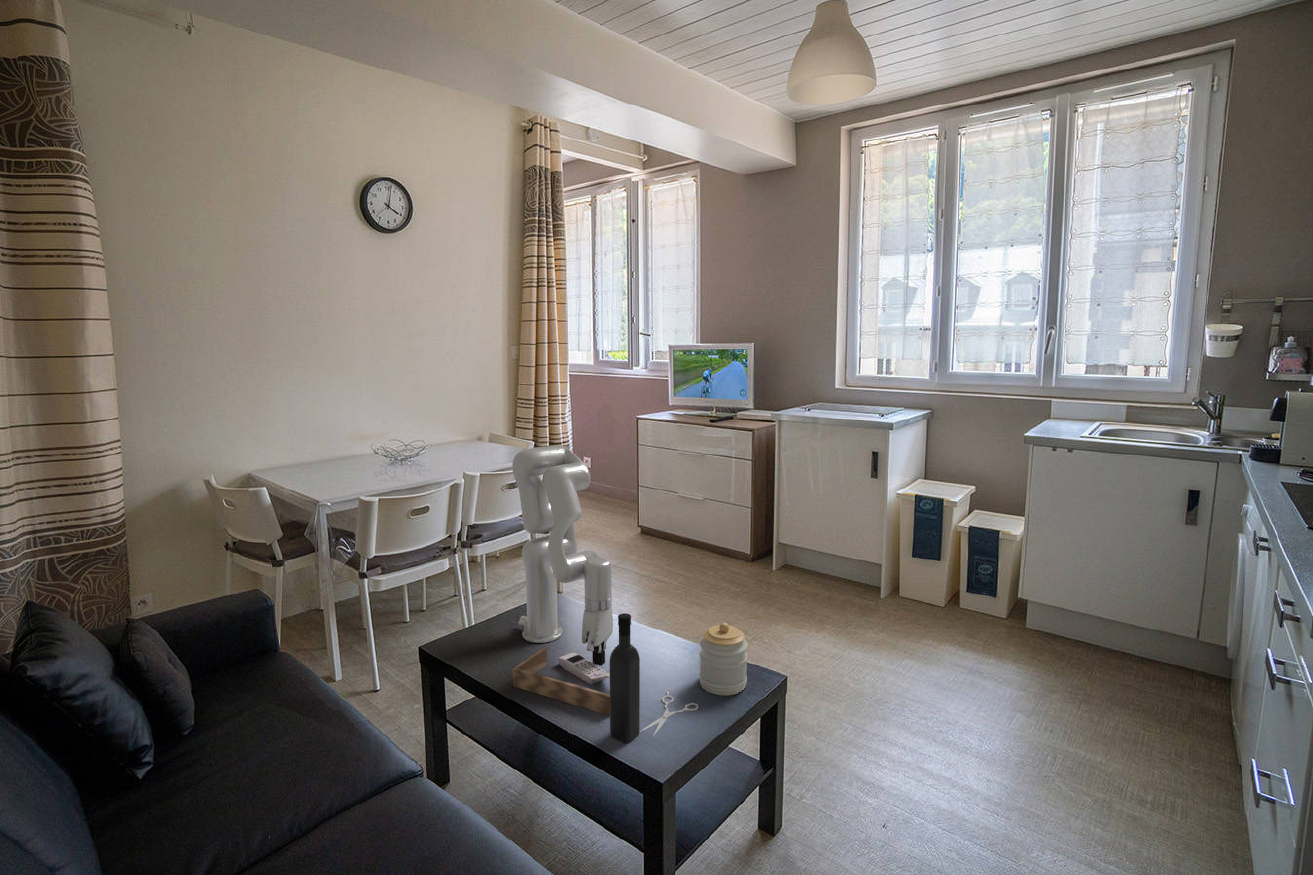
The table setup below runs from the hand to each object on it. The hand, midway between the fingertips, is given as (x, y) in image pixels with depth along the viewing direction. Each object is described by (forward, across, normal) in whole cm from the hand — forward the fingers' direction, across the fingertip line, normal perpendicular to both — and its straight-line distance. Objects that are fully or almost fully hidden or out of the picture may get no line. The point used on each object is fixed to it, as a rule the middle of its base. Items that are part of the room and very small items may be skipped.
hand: (598, 663), depth 191 cm
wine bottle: (+2, +24, +22) cm, 33 cm away
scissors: (+3, +13, +27) cm, 30 cm away
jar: (+2, -8, +34) cm, 36 cm away
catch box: (+2, +12, 0) cm, 12 cm away
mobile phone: (+2, +4, -1) cm, 5 cm away
